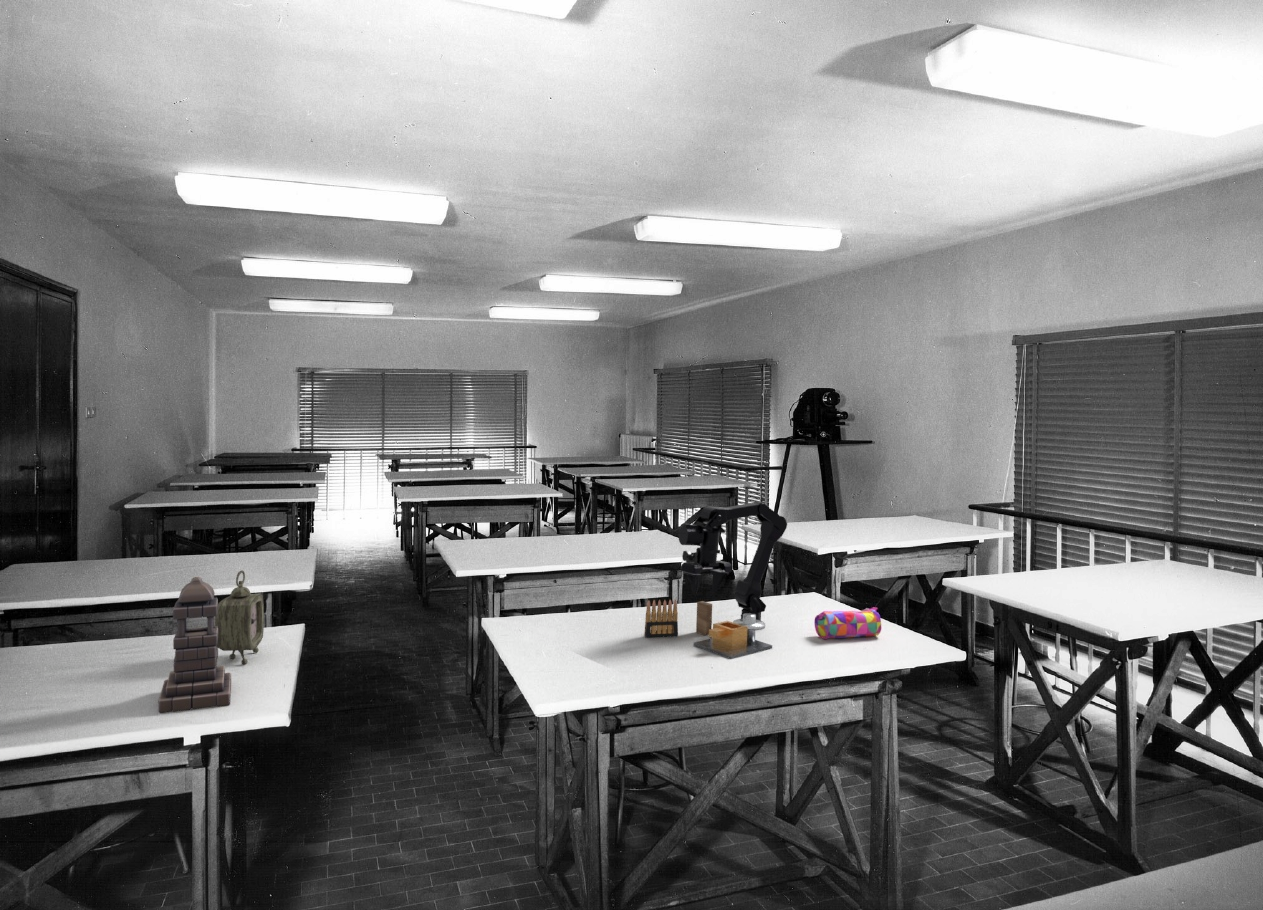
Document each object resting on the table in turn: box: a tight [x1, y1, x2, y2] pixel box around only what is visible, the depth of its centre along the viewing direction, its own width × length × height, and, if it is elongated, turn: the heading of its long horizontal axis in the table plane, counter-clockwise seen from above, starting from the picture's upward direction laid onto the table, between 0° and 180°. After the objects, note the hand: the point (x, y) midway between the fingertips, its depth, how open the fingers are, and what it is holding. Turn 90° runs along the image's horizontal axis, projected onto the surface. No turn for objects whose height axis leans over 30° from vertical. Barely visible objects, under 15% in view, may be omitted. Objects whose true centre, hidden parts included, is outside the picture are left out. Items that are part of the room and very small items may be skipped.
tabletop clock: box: [214, 570, 265, 666], centre depth 230 cm, size 14×9×25 cm, turn 9°
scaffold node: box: [693, 613, 773, 660], centre depth 254 cm, size 21×16×9 cm
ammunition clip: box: [643, 598, 679, 639], centre depth 262 cm, size 11×2×12 cm, turn 102°
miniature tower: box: [158, 576, 232, 714], centre depth 199 cm, size 16×15×30 cm
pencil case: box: [814, 606, 882, 640], centre depth 268 cm, size 22×9×9 cm, turn 111°
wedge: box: [695, 600, 713, 636], centre depth 267 cm, size 2×4×10 cm, turn 39°
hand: (704, 593), depth 266 cm, fingers open, 9 cm apart
